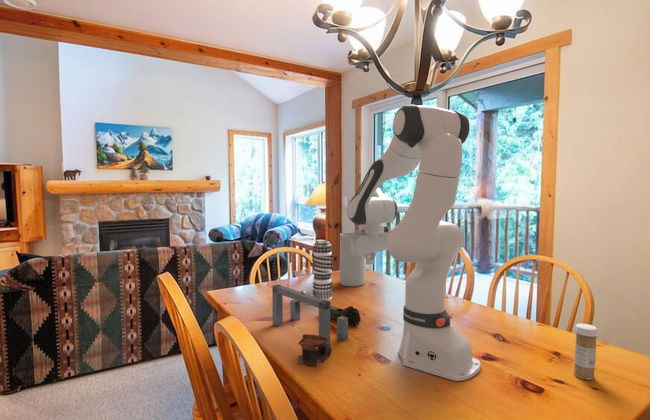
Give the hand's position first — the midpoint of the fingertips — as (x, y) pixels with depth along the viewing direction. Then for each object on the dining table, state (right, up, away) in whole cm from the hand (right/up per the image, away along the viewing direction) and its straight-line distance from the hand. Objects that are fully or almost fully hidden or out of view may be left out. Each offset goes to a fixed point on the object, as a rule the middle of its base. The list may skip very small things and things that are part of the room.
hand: (369, 263), depth 145 cm
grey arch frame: (-26, -20, -24) cm, 41 cm away
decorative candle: (-19, -18, +16) cm, 30 cm away
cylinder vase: (-4, -16, +40) cm, 43 cm away
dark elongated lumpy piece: (-12, -20, -10) cm, 25 cm away
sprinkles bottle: (+50, -22, -49) cm, 74 cm away
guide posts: (-20, -20, -18) cm, 34 cm away
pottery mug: (-20, -22, -41) cm, 51 cm away
